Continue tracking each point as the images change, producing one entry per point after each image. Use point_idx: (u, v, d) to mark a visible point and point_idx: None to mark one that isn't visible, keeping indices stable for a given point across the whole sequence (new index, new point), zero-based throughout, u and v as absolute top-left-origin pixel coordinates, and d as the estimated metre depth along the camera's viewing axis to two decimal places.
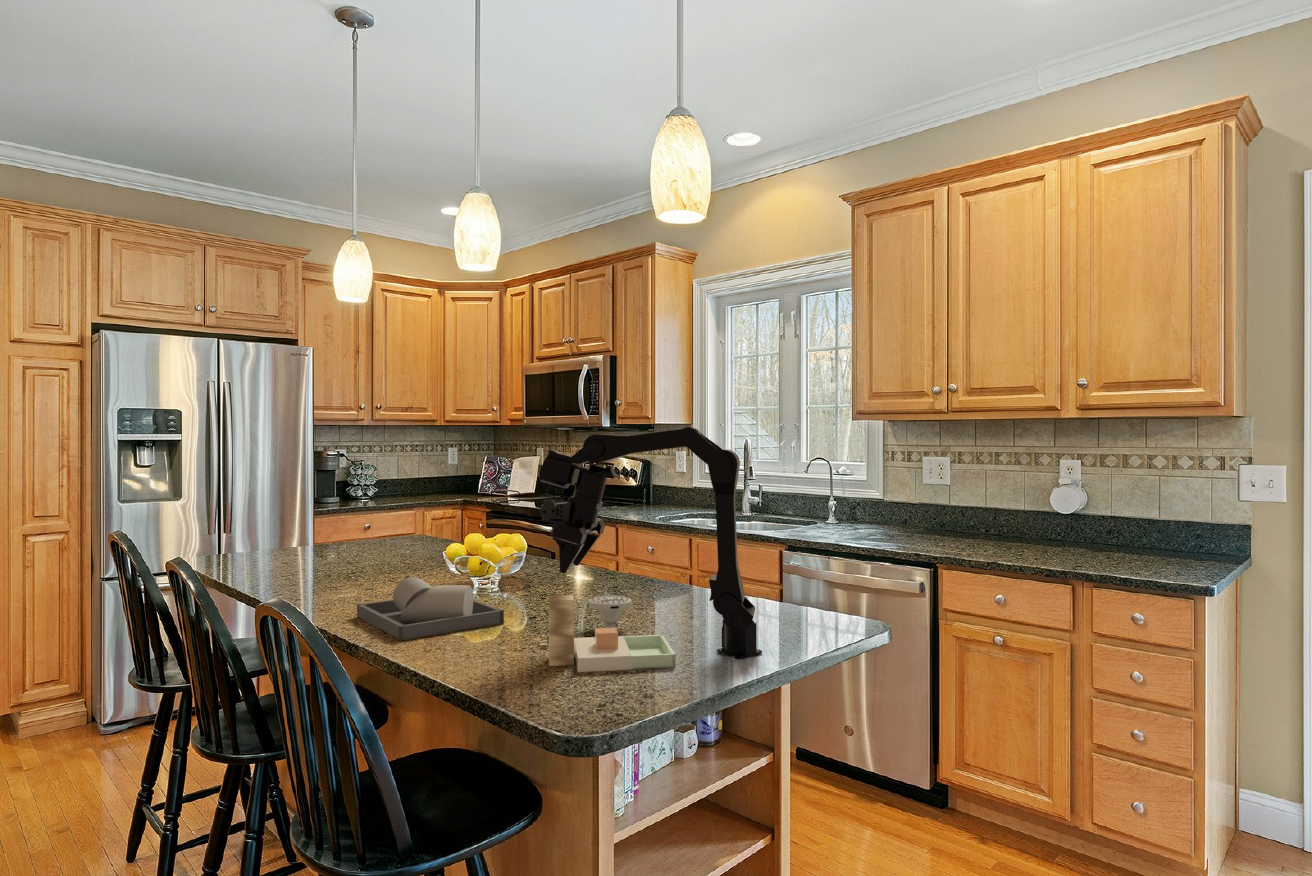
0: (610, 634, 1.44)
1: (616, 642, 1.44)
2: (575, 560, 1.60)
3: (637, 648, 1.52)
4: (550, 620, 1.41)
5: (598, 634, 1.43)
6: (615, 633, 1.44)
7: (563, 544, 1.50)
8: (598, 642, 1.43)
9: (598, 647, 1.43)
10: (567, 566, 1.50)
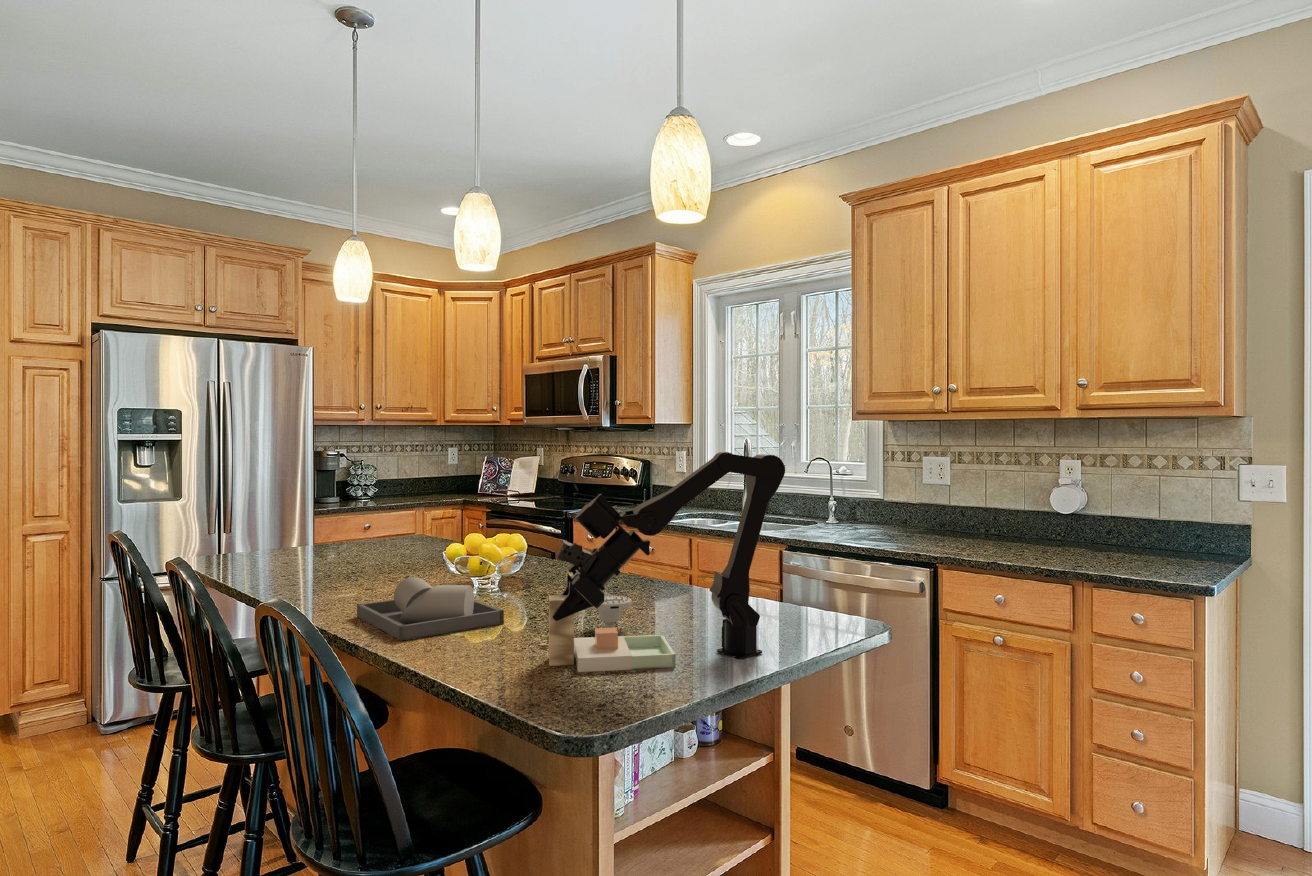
0: (610, 634, 1.44)
1: (616, 642, 1.44)
2: None
3: (637, 648, 1.52)
4: (550, 620, 1.41)
5: (598, 634, 1.43)
6: (615, 633, 1.44)
7: (573, 594, 1.40)
8: (598, 642, 1.43)
9: (598, 647, 1.43)
10: (563, 616, 1.41)
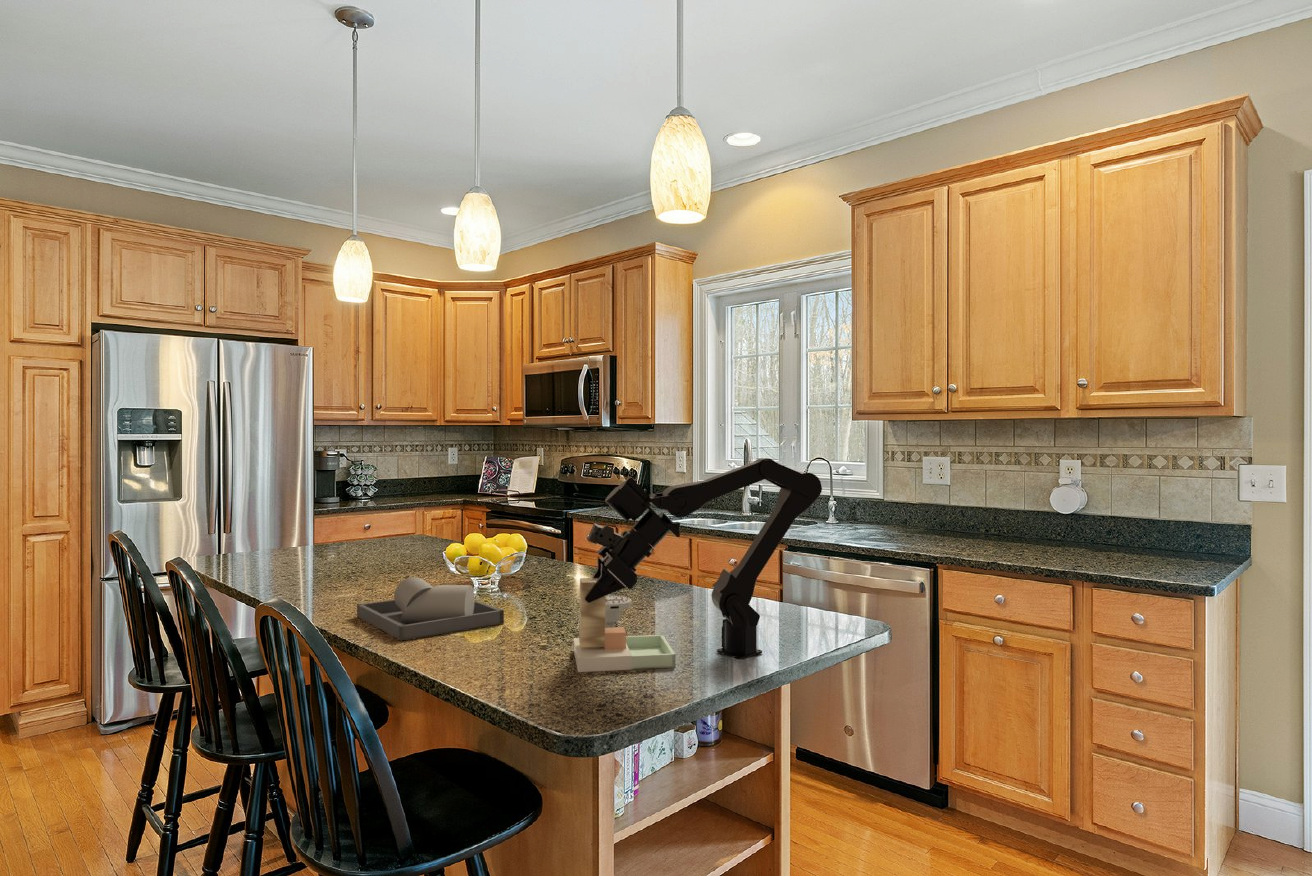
0: (618, 634, 1.44)
1: (624, 642, 1.44)
2: None
3: (637, 648, 1.52)
4: (582, 602, 1.42)
5: (606, 634, 1.43)
6: (623, 633, 1.44)
7: (606, 576, 1.41)
8: (606, 642, 1.43)
9: (606, 647, 1.43)
10: (596, 598, 1.42)
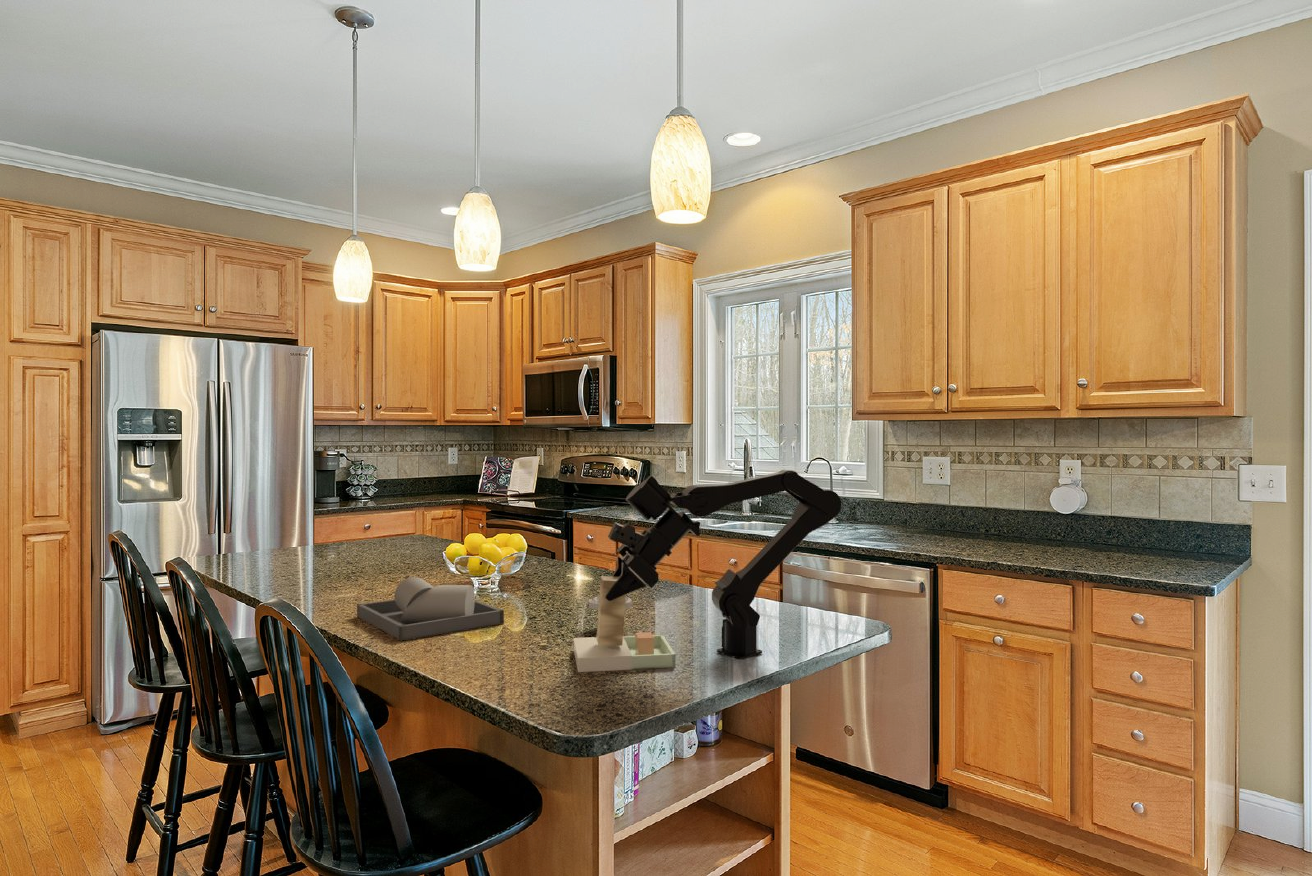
0: (652, 651, 1.45)
1: None
2: None
3: None
4: (602, 599, 1.43)
5: (653, 639, 1.45)
6: None
7: (626, 575, 1.42)
8: (645, 639, 1.45)
9: (640, 639, 1.44)
10: (617, 596, 1.43)
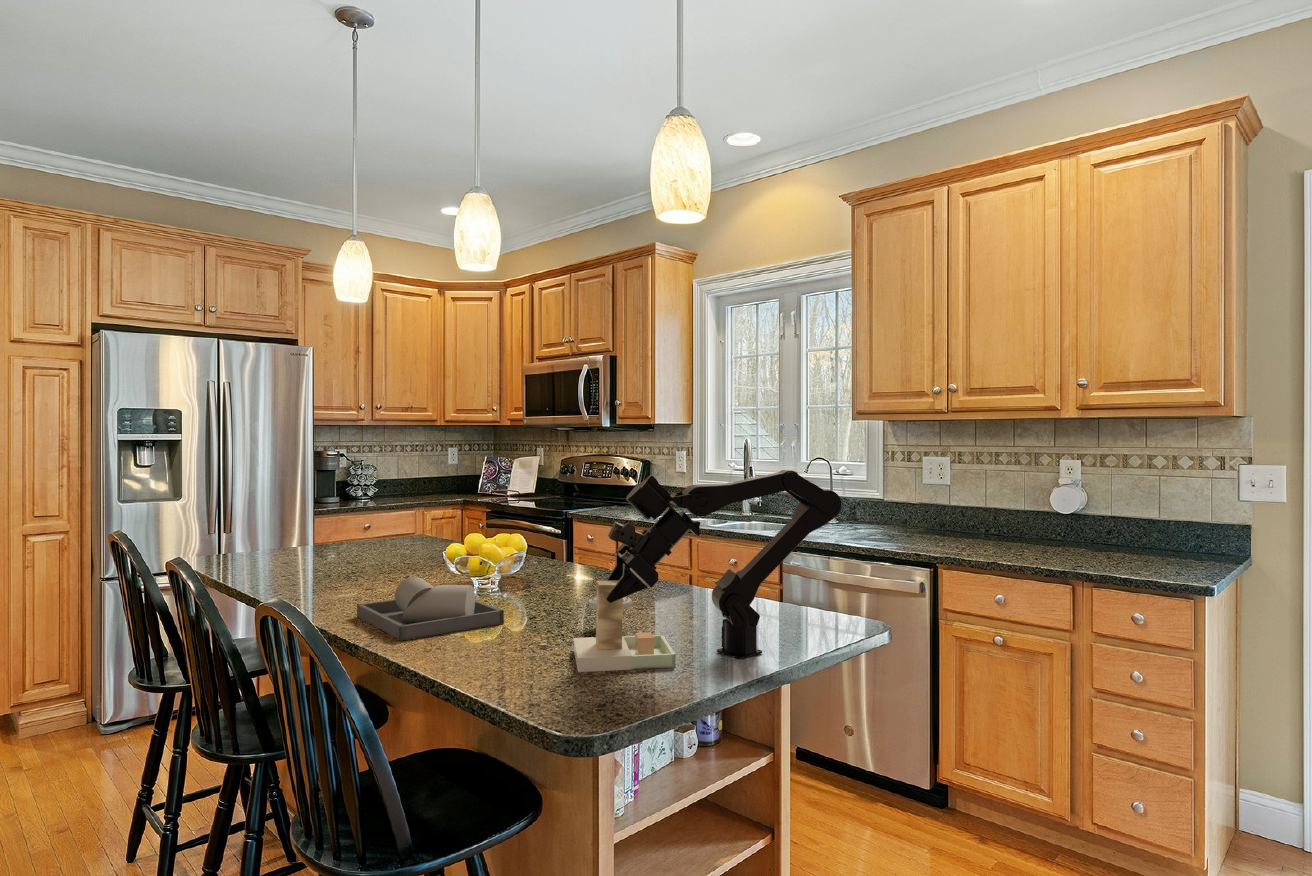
0: (652, 651, 1.45)
1: None
2: None
3: None
4: (599, 604, 1.43)
5: (653, 639, 1.45)
6: None
7: (628, 576, 1.40)
8: (645, 639, 1.45)
9: (640, 639, 1.44)
10: (618, 598, 1.40)
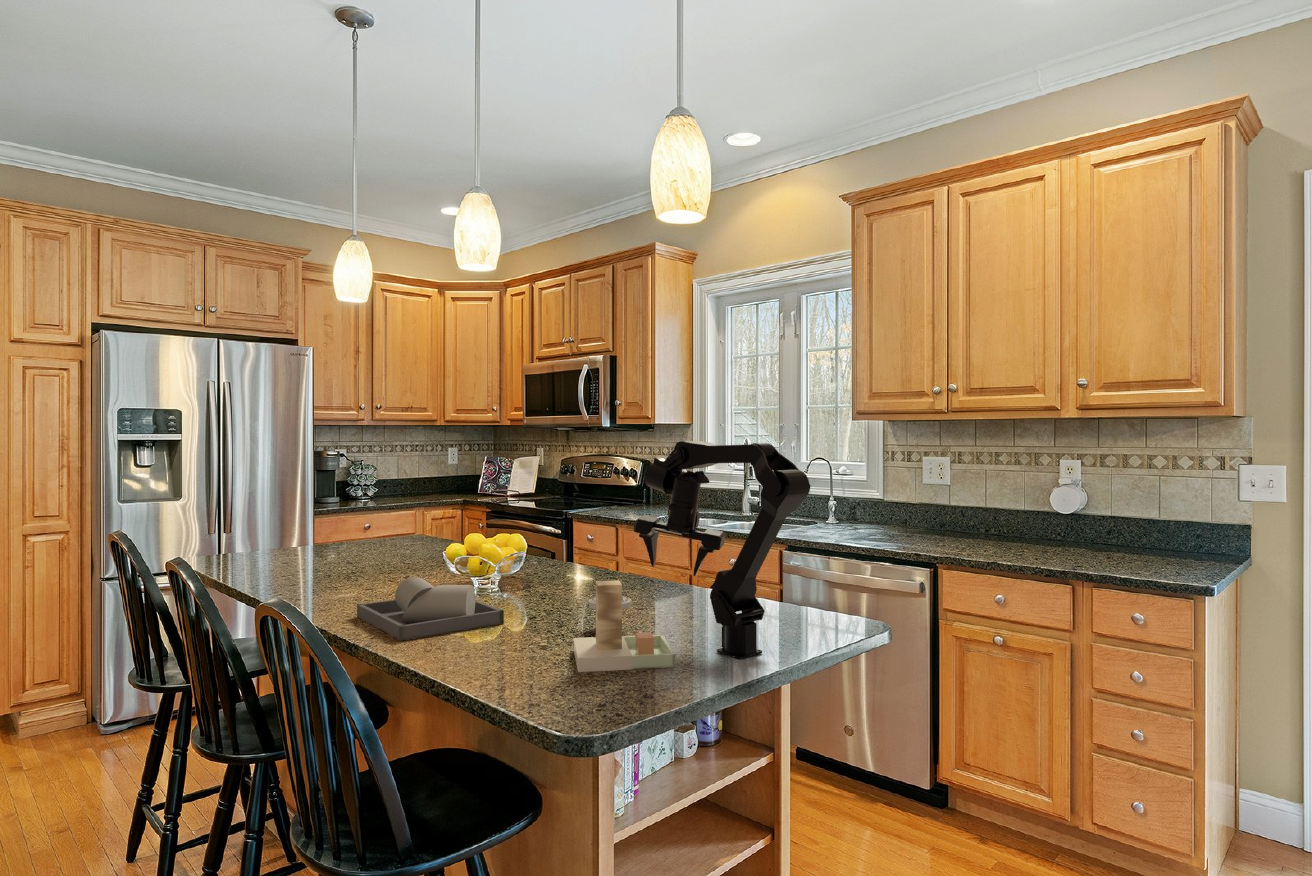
0: (652, 651, 1.45)
1: None
2: None
3: None
4: (599, 605, 1.43)
5: (653, 639, 1.45)
6: None
7: None
8: (645, 639, 1.45)
9: (640, 639, 1.44)
10: None
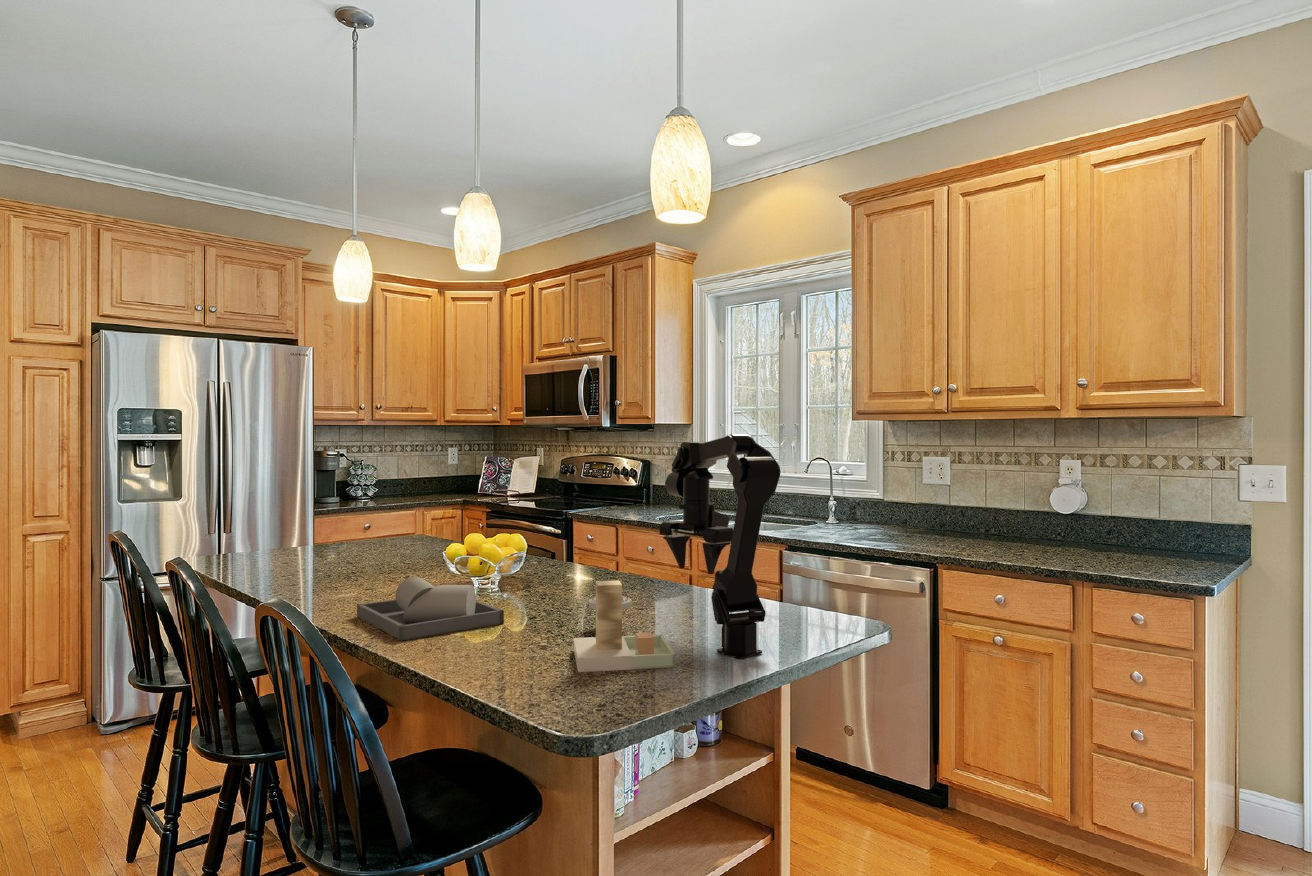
0: (652, 651, 1.45)
1: None
2: None
3: None
4: (599, 605, 1.43)
5: (653, 639, 1.45)
6: None
7: None
8: (645, 639, 1.45)
9: (640, 639, 1.44)
10: None
